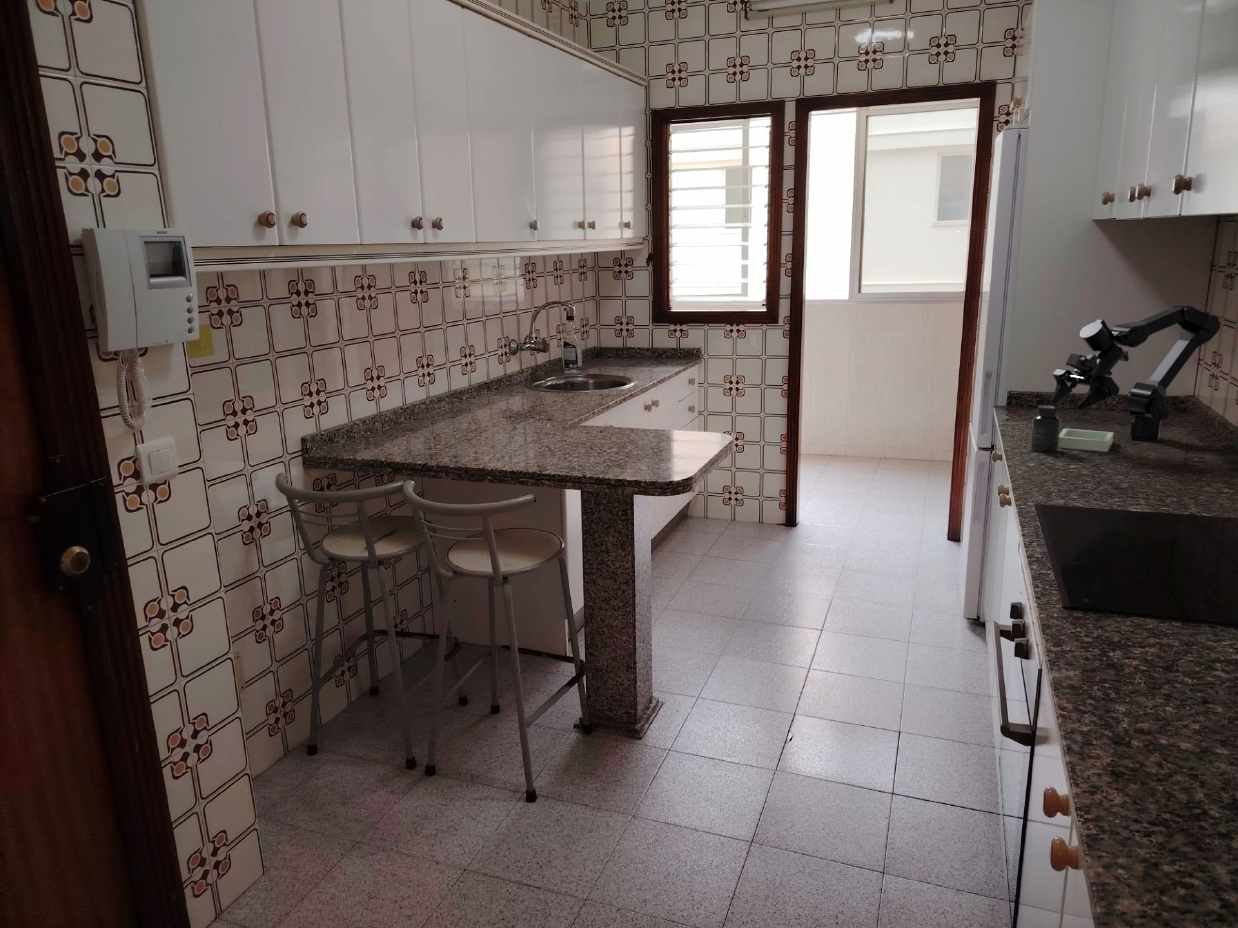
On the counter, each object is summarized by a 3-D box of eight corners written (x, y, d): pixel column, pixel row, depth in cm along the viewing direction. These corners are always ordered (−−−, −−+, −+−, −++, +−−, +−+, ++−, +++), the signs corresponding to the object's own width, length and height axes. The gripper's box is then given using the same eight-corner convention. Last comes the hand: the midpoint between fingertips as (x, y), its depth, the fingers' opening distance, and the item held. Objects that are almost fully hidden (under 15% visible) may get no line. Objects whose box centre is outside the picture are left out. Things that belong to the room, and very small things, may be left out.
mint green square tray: (1112, 442, 237) (1113, 432, 236) (1107, 451, 227) (1108, 441, 227) (1063, 438, 244) (1063, 428, 243) (1056, 447, 234) (1057, 436, 234)
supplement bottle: (1062, 452, 228) (1066, 408, 225) (1036, 453, 229) (1040, 409, 226) (1050, 446, 235) (1054, 404, 232) (1025, 447, 235) (1029, 404, 232)
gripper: (1061, 339, 236) (1024, 381, 236) (1115, 346, 219) (1075, 391, 219) (1081, 366, 240) (1045, 407, 240) (1136, 374, 223) (1097, 419, 223)
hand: (1064, 405), depth 230 cm, fingers open, 9 cm apart
